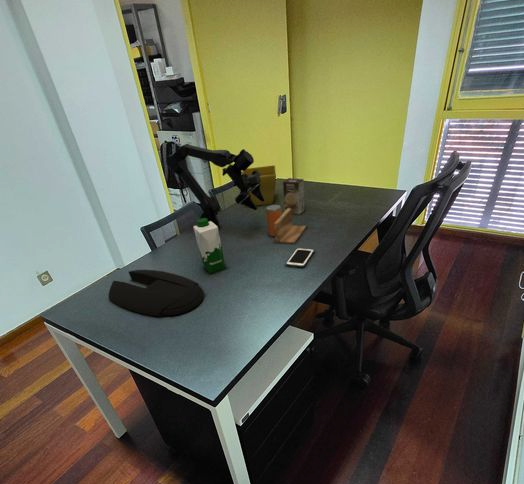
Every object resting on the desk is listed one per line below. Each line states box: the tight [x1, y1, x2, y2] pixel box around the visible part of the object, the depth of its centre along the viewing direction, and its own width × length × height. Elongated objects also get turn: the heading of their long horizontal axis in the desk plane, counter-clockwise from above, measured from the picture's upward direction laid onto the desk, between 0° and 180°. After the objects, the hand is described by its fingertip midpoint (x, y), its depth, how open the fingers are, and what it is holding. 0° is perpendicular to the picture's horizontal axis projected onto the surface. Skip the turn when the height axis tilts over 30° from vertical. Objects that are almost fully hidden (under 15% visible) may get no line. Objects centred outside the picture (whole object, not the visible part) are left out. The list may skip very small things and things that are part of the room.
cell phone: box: [285, 247, 315, 268], centre depth 136 cm, size 8×15×1 cm, turn 156°
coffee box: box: [282, 177, 305, 215], centre depth 172 cm, size 9×6×16 cm
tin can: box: [265, 204, 282, 238], centre depth 154 cm, size 7×7×13 cm
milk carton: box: [192, 218, 226, 275], centre depth 132 cm, size 9×9×20 cm
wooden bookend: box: [274, 208, 307, 245], centre depth 152 cm, size 9×18×9 cm, turn 157°
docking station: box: [108, 269, 205, 318], centre depth 125 cm, size 25×40×5 cm, turn 58°
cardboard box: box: [242, 164, 277, 207], centre depth 191 cm, size 19×19×17 cm
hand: (260, 205), depth 155 cm, fingers open, 9 cm apart
